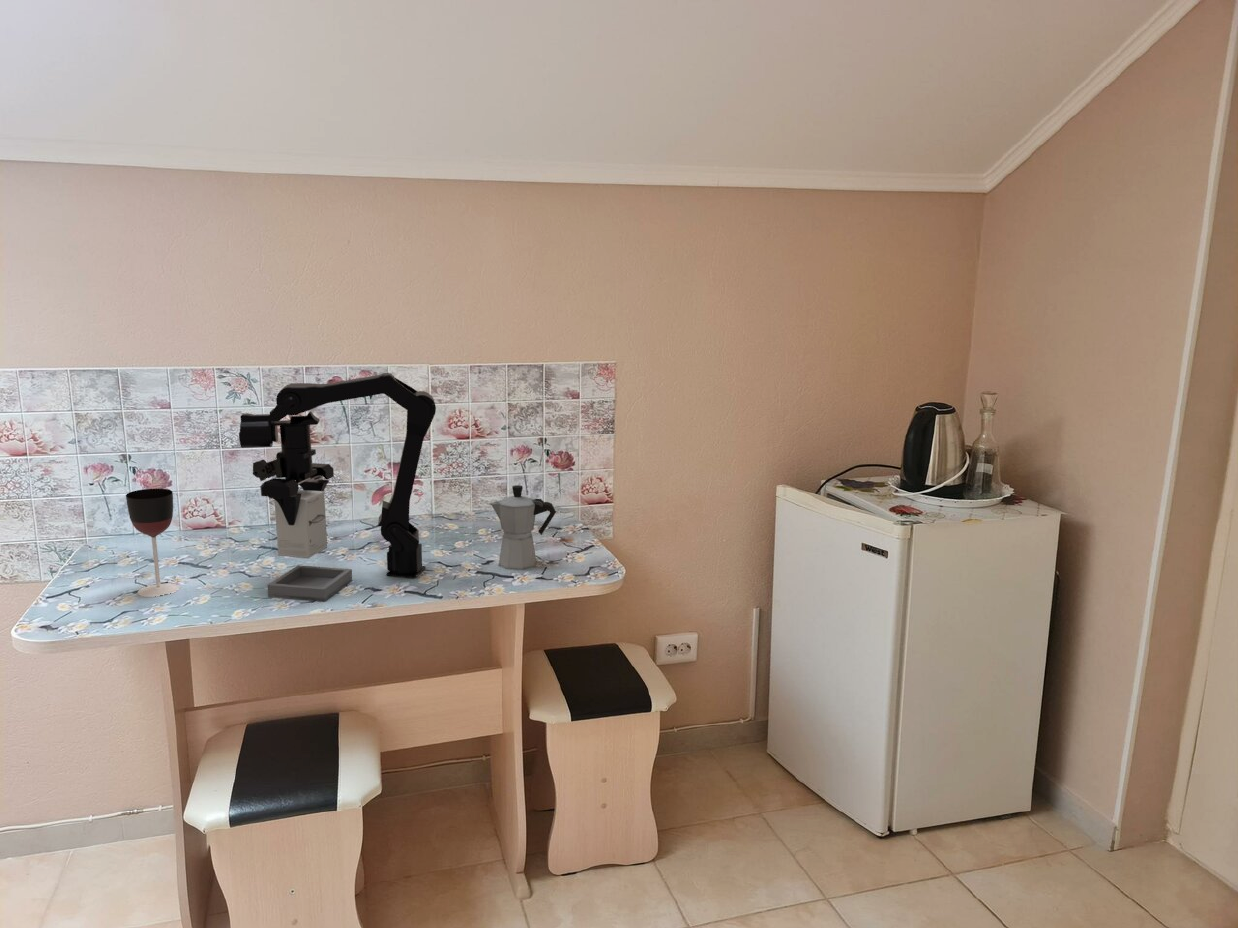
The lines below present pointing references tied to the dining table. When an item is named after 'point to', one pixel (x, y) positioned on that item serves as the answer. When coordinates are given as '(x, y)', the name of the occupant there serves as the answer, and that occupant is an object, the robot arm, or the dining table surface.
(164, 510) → the wineglass
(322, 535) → the supplement box
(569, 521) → the dining table surface
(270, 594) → the tray
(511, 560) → the coffee maker
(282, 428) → the robot arm
